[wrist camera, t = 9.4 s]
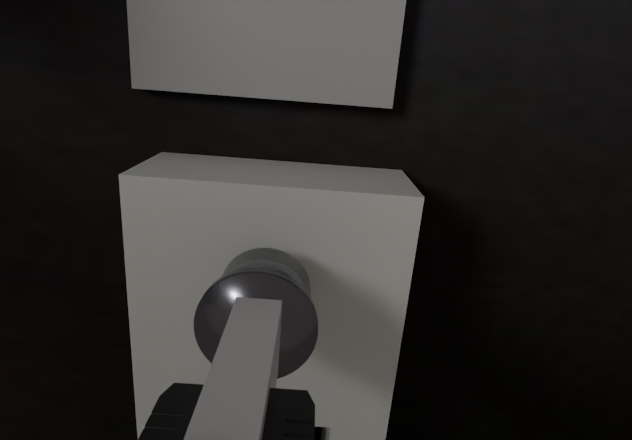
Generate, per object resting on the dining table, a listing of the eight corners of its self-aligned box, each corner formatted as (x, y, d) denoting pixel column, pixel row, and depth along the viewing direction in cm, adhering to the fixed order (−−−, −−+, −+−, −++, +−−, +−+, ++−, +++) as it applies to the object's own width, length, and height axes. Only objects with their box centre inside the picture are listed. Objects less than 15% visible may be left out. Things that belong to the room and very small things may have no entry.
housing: (178, 566, 31) (153, 654, 27) (162, 152, 22) (118, 174, 17) (344, 576, 32) (348, 665, 27) (401, 170, 22) (424, 197, 17)
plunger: (213, 330, 18) (194, 377, 15) (213, 236, 17) (192, 268, 14) (314, 337, 18) (313, 385, 15) (322, 244, 17) (323, 278, 14)
